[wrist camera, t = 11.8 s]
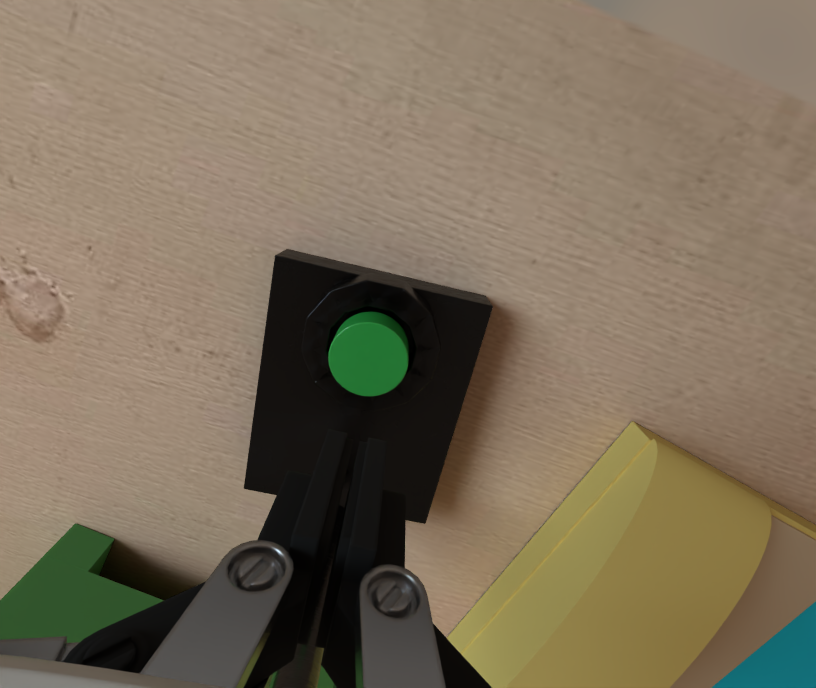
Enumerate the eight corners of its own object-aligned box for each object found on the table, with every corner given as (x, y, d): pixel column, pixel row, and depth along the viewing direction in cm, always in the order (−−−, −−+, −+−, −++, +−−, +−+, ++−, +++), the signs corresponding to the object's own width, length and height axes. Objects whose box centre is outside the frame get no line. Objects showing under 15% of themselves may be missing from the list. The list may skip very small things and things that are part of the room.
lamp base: (287, 244, 24) (264, 255, 20) (487, 291, 24) (501, 311, 21) (255, 466, 28) (232, 510, 25) (424, 499, 29) (426, 546, 25)
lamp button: (341, 303, 21) (335, 314, 19) (416, 320, 21) (416, 332, 19) (328, 372, 22) (321, 387, 20) (399, 387, 22) (398, 404, 21)
